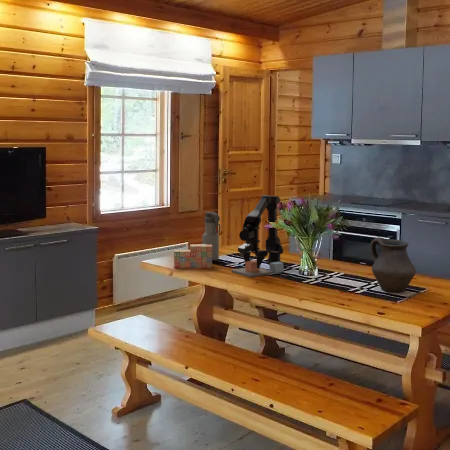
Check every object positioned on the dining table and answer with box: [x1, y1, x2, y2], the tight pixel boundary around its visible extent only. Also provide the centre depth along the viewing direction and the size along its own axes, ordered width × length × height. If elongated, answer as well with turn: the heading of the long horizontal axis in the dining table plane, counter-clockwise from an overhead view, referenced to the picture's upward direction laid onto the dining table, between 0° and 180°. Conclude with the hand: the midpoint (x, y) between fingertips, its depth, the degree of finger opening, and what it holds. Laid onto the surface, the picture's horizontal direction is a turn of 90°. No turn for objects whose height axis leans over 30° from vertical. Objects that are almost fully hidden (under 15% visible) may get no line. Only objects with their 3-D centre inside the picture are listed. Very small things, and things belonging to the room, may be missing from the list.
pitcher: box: [370, 236, 417, 293], centre depth 307 cm, size 21×22×25 cm
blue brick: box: [269, 261, 284, 274], centre depth 347 cm, size 6×4×5 cm
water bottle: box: [201, 211, 221, 262], centre depth 379 cm, size 10×10×28 cm
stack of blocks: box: [173, 243, 213, 269], centre depth 359 cm, size 21×6×12 cm, turn 94°
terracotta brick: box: [244, 259, 260, 272], centre depth 344 cm, size 6×4×5 cm
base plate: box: [231, 267, 274, 278], centre depth 345 cm, size 16×16×1 cm
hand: (252, 266), depth 344 cm, fingers open, 9 cm apart
